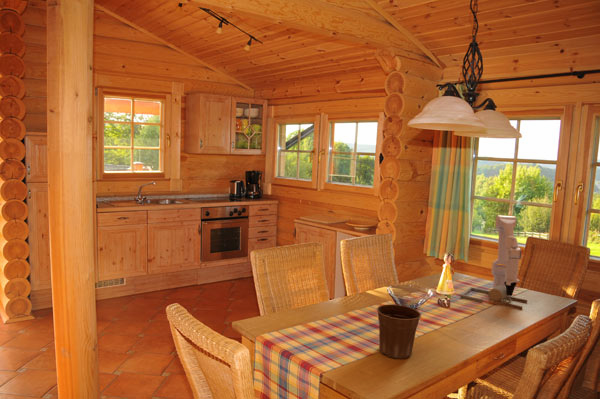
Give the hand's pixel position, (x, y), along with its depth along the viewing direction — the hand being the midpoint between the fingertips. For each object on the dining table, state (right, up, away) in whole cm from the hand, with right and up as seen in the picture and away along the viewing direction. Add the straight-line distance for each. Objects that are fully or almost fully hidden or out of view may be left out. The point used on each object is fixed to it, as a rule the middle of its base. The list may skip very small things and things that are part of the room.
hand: (509, 295), depth 237 cm
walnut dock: (0, -4, 0) cm, 4 cm away
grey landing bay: (-13, -2, +10) cm, 17 cm away
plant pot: (-75, -7, -67) cm, 100 cm away
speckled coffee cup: (-4, -4, +2) cm, 6 cm away
